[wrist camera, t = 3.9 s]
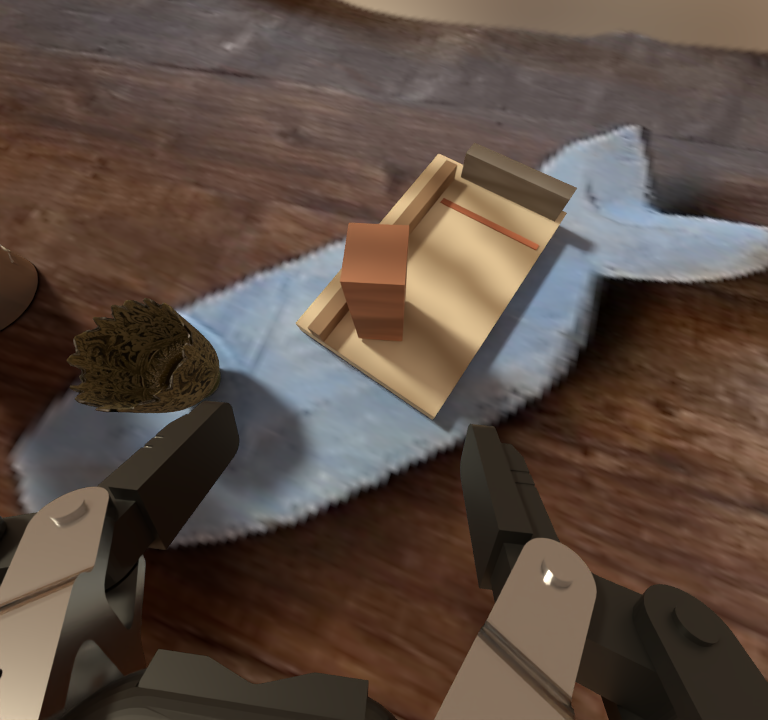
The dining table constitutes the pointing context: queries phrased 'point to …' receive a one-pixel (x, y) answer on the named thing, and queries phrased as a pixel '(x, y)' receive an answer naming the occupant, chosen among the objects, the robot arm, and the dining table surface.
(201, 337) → the olive rounded hollow piece
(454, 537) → the dining table surface
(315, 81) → the dining table surface
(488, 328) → the birch board
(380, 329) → the tall copper-brown prism
